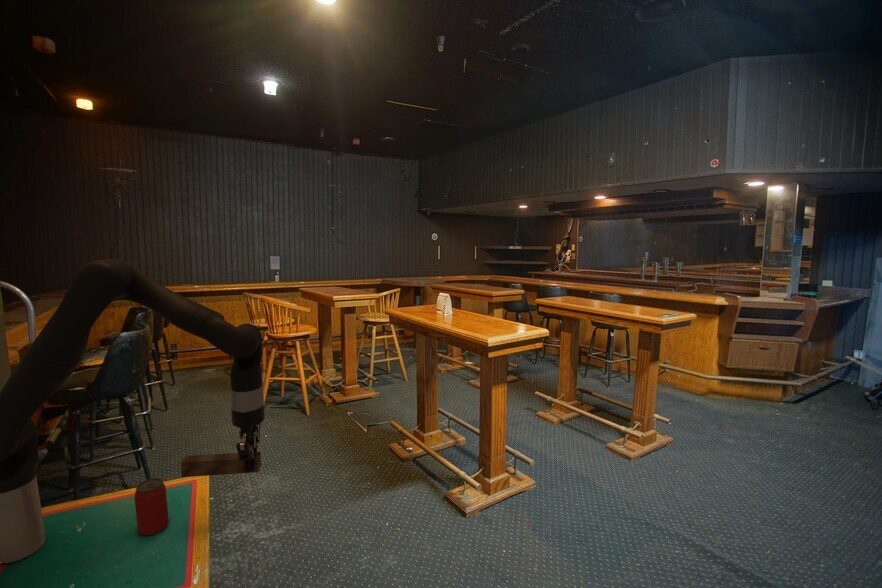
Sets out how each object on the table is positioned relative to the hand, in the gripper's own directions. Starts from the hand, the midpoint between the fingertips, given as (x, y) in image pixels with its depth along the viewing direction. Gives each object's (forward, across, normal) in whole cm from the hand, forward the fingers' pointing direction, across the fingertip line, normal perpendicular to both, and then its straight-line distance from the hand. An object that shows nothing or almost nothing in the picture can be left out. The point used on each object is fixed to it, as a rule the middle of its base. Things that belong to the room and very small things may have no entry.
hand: (251, 466), depth 110 cm
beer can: (+15, 0, -24) cm, 29 cm away
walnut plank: (+1, 0, -7) cm, 7 cm away
